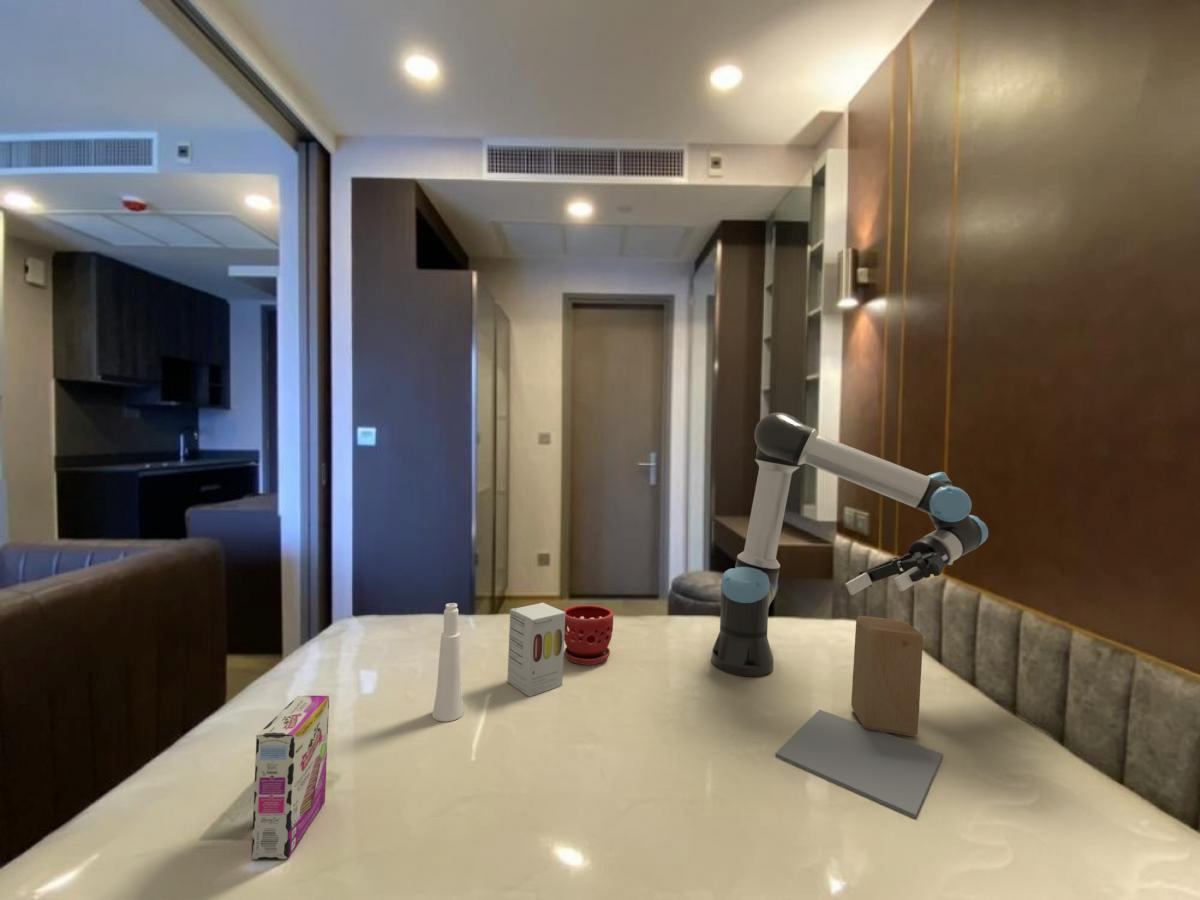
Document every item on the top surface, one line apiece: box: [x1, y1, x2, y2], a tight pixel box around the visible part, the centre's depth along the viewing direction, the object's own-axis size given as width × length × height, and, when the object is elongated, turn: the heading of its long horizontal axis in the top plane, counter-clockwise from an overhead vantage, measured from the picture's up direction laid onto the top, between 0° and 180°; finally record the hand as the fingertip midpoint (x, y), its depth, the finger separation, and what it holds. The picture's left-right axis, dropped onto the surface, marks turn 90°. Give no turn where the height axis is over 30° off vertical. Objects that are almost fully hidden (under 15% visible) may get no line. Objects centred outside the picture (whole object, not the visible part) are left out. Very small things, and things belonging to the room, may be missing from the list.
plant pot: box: [562, 604, 614, 666], centre depth 135 cm, size 13×13×12 cm
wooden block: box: [850, 615, 924, 737], centre depth 107 cm, size 10×10×20 cm
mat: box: [774, 709, 944, 819], centre depth 95 cm, size 22×22×1 cm
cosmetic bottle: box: [432, 602, 465, 723], centre depth 105 cm, size 6×6×22 cm
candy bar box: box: [250, 695, 330, 861], centre depth 73 cm, size 11×5×16 cm, turn 5°
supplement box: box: [506, 602, 565, 698], centre depth 119 cm, size 10×9×17 cm
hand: (872, 587), depth 113 cm, fingers open, 13 cm apart
